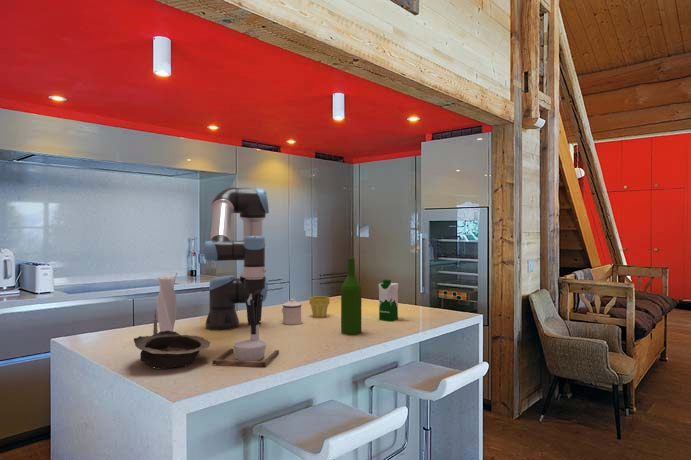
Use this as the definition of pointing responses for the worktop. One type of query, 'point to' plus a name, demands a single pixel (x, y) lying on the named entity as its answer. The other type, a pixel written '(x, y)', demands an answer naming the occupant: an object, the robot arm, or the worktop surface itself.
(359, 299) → the wine bottle
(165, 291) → the skyscraper
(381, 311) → the milk carton
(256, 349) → the ramekin
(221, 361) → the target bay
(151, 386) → the worktop surface
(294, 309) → the teacup with lid
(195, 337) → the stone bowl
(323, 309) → the plant pot
